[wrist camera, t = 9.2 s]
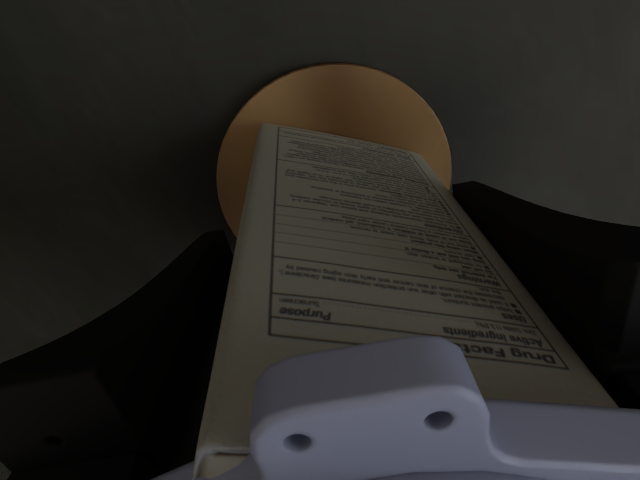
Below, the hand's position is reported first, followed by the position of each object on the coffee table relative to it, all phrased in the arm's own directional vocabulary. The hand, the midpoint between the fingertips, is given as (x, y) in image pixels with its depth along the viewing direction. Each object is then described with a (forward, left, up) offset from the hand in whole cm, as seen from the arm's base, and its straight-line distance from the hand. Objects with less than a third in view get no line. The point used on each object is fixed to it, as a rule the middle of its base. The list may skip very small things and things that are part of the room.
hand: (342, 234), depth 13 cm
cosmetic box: (0, 0, -4) cm, 4 cm away
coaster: (0, 0, -4) cm, 4 cm away
